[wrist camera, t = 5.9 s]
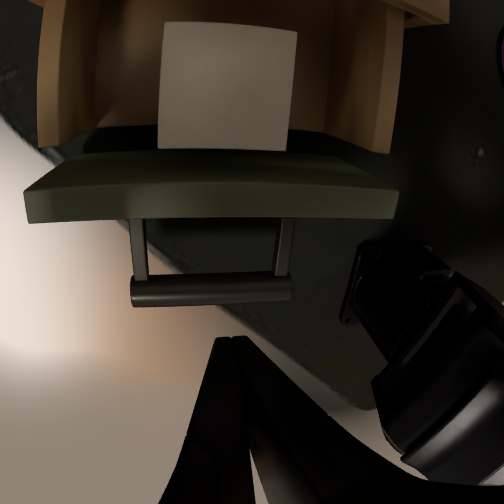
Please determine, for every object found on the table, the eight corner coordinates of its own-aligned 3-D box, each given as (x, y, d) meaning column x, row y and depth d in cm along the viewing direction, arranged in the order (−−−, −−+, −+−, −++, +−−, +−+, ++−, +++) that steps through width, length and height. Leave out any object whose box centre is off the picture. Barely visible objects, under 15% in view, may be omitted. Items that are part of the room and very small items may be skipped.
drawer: (319, 257, 19) (364, 319, 14) (86, 264, 16) (58, 335, 11) (354, -35, 11) (420, -66, 6) (90, -55, 8) (56, -106, 3)
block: (256, 133, 14) (286, 151, 10) (165, 131, 13) (157, 149, 9) (263, 47, 12) (297, 31, 8) (170, 42, 11) (164, 21, 7)
